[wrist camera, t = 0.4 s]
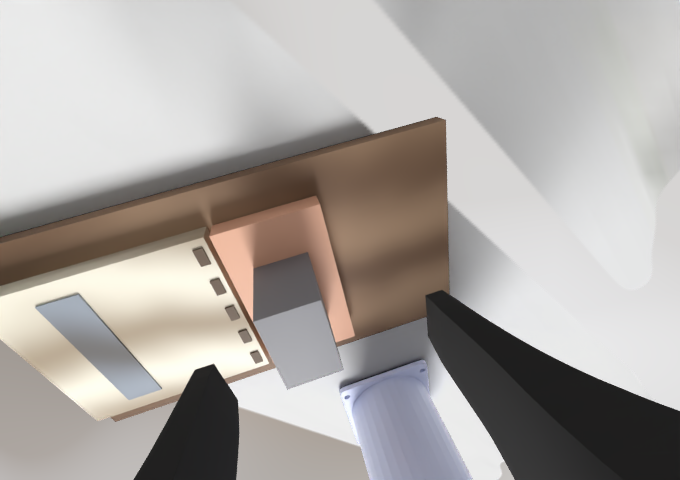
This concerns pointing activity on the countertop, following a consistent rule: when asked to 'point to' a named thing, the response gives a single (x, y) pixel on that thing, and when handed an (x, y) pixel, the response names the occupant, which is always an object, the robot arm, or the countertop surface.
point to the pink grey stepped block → (288, 286)
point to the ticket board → (219, 270)
